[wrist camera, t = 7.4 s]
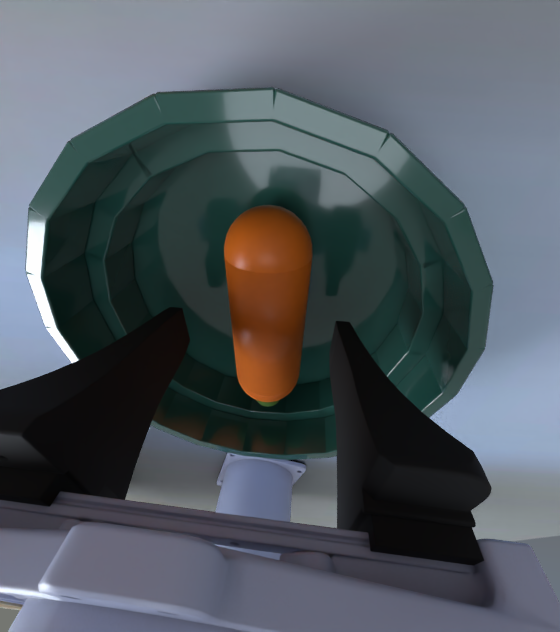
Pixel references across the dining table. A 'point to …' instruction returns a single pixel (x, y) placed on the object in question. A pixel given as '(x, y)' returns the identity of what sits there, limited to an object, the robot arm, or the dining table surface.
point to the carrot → (268, 298)
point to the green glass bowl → (209, 264)
